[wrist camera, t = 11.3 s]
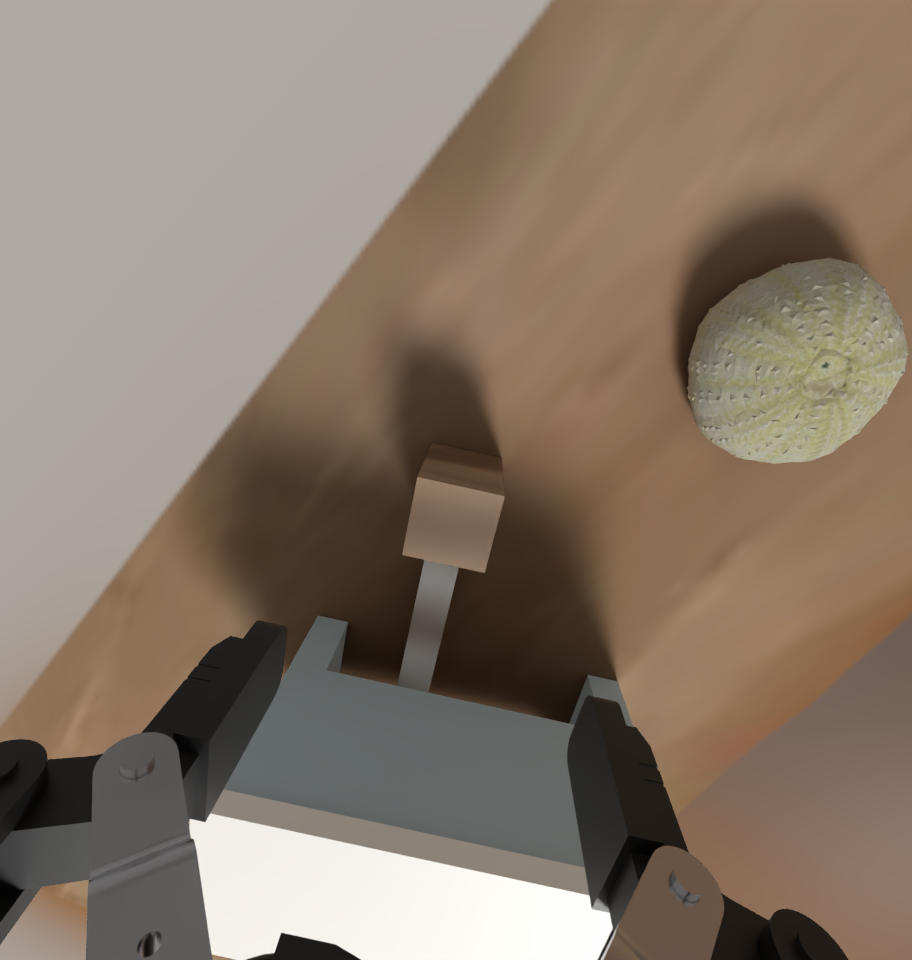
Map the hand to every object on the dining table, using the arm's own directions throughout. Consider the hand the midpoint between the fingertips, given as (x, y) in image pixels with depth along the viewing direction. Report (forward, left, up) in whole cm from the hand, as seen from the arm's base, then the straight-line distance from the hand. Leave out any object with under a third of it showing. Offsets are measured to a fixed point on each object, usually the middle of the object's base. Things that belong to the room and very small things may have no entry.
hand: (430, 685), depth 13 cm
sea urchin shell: (-10, +14, -17) cm, 24 cm away
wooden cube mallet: (+6, 0, -16) cm, 17 cm away
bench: (+15, +3, -16) cm, 22 cm away
